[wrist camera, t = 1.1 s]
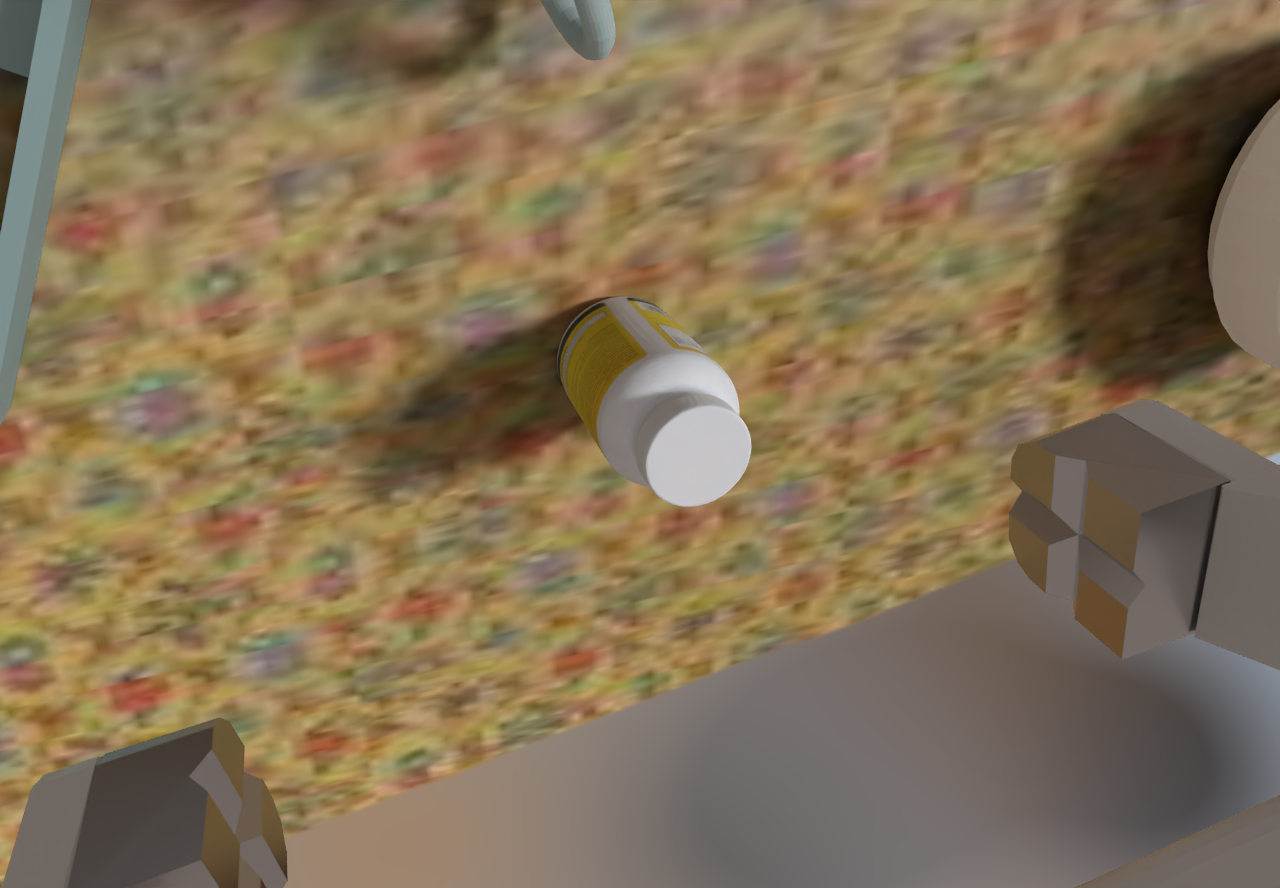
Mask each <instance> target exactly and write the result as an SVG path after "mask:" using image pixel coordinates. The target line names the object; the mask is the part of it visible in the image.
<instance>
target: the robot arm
mask: <svg viewBox="0 0 1280 888" xmlns="http://www.w3.org/2000/svg"><path fill="white" fill-rule="evenodd" d="M1011 480H1012V481H1013V482H1014V483H1015V484H1016V485H1017V486H1018V487H1019V488H1020V489H1021V490H1022V492H1021V494H1020V496H1019V497H1018V499H1017V501H1016V502H1015V504H1014V505H1013V507H1012V509H1011V510H1010V512H1009V540H1010V543H1011V545H1012V548H1013V551H1014V554H1015V556H1016V559H1017V562H1018V563H1019V565H1020V566H1021V568H1022V569H1023V571H1024V572H1025V573H1026V575H1027V576H1028V578H1029V579H1030V580H1031V581H1032V582H1034V583H1035V584H1036V585H1037V586H1038V587H1039V588H1040V589H1041V590H1042V591H1043V592H1044V593H1046V594H1049V595H1053V596H1056V597H1060V598H1063V599H1066V600H1070V601H1073V606H1074V615H1075V620H1076V621H1078V622H1079V623H1080V624H1081V625H1082V626H1083V627H1085V628H1086V629H1087V630H1088V631H1089V632H1090V633H1092V634H1093V635H1094V636H1095V637H1096V638H1098V639H1099V640H1100V641H1101V642H1102V643H1103V644H1104V645H1105V646H1107V647H1108V648H1109V649H1110V650H1111V651H1112V652H1114V653H1115V654H1116V655H1117V656H1118V657H1119V658H1121V659H1125V658H1127V657H1130V656H1133V655H1135V654H1138V653H1141V652H1144V651H1146V650H1149V649H1152V648H1155V647H1157V646H1160V645H1163V644H1166V643H1168V642H1171V641H1174V640H1176V639H1179V638H1182V637H1185V636H1187V635H1190V634H1193V633H1195V637H1196V638H1198V639H1201V640H1203V641H1206V642H1209V643H1211V644H1214V645H1216V646H1219V647H1221V648H1224V649H1226V650H1229V651H1232V652H1234V653H1237V654H1239V655H1242V656H1245V657H1247V658H1250V659H1252V660H1255V661H1258V662H1260V663H1263V664H1265V665H1268V666H1270V667H1273V668H1276V669H1278V670H1280V465H1277V464H1275V463H1273V462H1272V461H1270V460H1268V459H1266V458H1264V457H1262V456H1260V455H1258V454H1257V453H1255V452H1253V451H1251V450H1249V449H1247V448H1245V447H1243V446H1242V445H1240V444H1238V443H1236V442H1234V441H1232V440H1230V439H1229V438H1227V437H1225V436H1223V435H1221V434H1219V433H1217V432H1215V431H1214V430H1212V429H1210V428H1208V427H1206V426H1204V425H1202V424H1200V423H1199V422H1197V421H1195V420H1193V419H1191V418H1189V417H1187V416H1185V415H1184V414H1182V413H1180V412H1178V411H1176V410H1174V409H1172V408H1170V407H1169V406H1167V405H1165V404H1163V403H1161V402H1159V401H1153V400H1145V399H1141V400H1138V401H1135V402H1133V403H1130V404H1127V405H1124V406H1122V407H1119V408H1116V409H1114V410H1111V411H1108V412H1106V413H1103V414H1101V415H1100V416H1099V417H1096V418H1092V419H1090V420H1087V421H1084V422H1081V423H1078V424H1075V425H1072V426H1070V427H1067V428H1064V429H1061V430H1058V431H1055V432H1052V433H1050V434H1047V435H1044V436H1041V437H1038V438H1035V439H1032V440H1030V441H1027V442H1024V443H1021V444H1018V446H1017V448H1016V451H1015V453H1014V455H1013V457H1012V463H1011ZM287 881H288V877H287V851H286V845H285V840H284V835H283V829H282V824H281V820H280V817H279V814H278V812H277V809H276V806H275V803H274V801H273V798H272V796H271V794H270V792H269V790H268V789H267V787H266V785H265V783H264V781H263V780H262V779H260V778H257V777H255V776H252V775H250V774H247V773H245V772H244V745H243V743H242V741H241V740H240V738H239V736H238V735H237V733H236V731H235V730H234V728H233V727H232V725H231V723H230V722H229V721H227V720H225V719H222V718H216V719H213V720H210V721H207V722H204V723H201V724H198V725H195V726H191V727H188V728H185V729H182V730H179V731H176V732H173V733H170V734H166V735H163V736H160V737H157V738H154V739H151V740H148V741H145V742H141V743H138V744H135V745H132V746H129V747H126V748H123V749H120V750H116V751H113V752H110V753H107V754H105V755H104V756H103V757H97V758H94V759H91V760H88V761H85V762H82V763H78V764H75V765H72V766H69V767H66V768H63V769H60V770H57V771H54V772H51V773H48V774H45V775H44V776H43V777H42V778H41V779H40V780H39V781H38V782H37V783H36V784H35V785H34V786H33V787H32V789H31V791H30V795H29V798H28V801H27V805H26V808H25V812H24V815H23V818H22V822H21V825H20V828H19V832H18V835H17V838H16V842H15V845H14V848H13V852H12V855H11V858H10V862H9V865H8V868H7V872H6V875H5V878H4V882H3V885H2V888H283V887H284V886H285V884H286V882H287ZM1075 888H1280V795H1279V796H1277V797H1275V798H1272V799H1270V800H1268V801H1266V802H1263V803H1261V804H1259V805H1257V806H1255V807H1252V808H1250V809H1248V810H1246V811H1244V812H1241V813H1239V814H1237V815H1235V816H1232V817H1230V818H1228V819H1226V820H1224V821H1221V822H1219V823H1217V824H1215V825H1212V826H1211V827H1208V828H1206V829H1204V830H1201V831H1199V832H1197V833H1195V834H1193V835H1190V836H1188V837H1186V838H1184V839H1182V840H1179V841H1177V842H1175V843H1173V844H1170V845H1168V846H1166V847H1164V848H1161V849H1159V850H1157V851H1155V852H1153V853H1150V854H1148V855H1146V856H1144V857H1142V858H1139V859H1137V860H1135V861H1133V862H1131V863H1128V864H1126V865H1124V866H1122V867H1119V868H1117V869H1115V870H1113V871H1111V872H1108V873H1106V874H1104V875H1102V876H1100V877H1097V878H1095V879H1093V880H1091V881H1088V882H1086V883H1084V884H1082V885H1079V886H1077V887H1075Z"/></svg>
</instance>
